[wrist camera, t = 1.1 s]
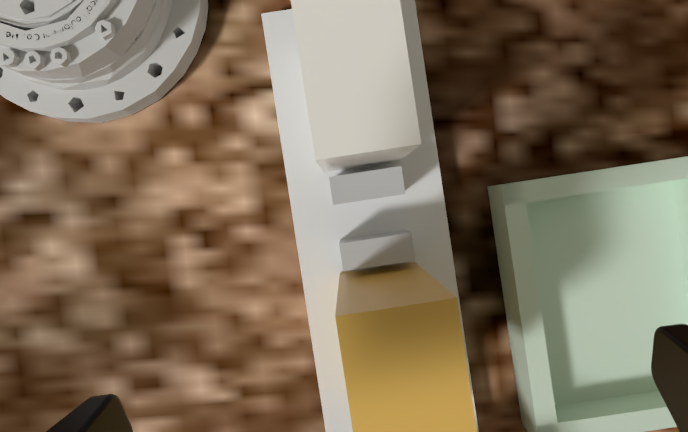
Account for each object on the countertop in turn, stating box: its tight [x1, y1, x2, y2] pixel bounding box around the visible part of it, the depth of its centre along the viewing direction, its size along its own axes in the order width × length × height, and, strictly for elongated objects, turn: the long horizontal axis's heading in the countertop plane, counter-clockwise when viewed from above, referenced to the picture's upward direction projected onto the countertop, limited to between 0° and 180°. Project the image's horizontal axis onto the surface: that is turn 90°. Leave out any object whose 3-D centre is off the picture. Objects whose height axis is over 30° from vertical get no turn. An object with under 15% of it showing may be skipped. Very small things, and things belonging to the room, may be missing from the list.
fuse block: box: [261, 0, 479, 432], centre depth 20 cm, size 26×6×3 cm, turn 9°
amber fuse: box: [335, 262, 477, 432], centre depth 17 cm, size 5×3×8 cm, turn 9°
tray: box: [487, 156, 688, 432], centre depth 21 cm, size 10×8×2 cm
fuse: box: [291, 0, 421, 173], centre depth 18 cm, size 5×3×6 cm, turn 9°
